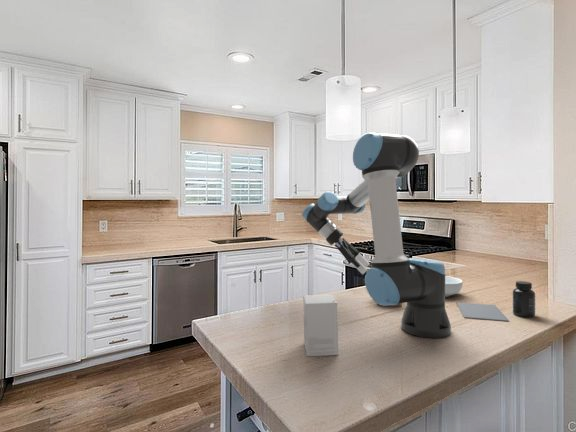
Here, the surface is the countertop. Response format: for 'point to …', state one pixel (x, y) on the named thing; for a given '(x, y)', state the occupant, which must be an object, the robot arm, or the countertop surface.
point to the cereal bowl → (452, 285)
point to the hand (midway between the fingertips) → (366, 269)
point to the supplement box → (320, 325)
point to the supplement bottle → (524, 300)
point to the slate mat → (481, 311)
